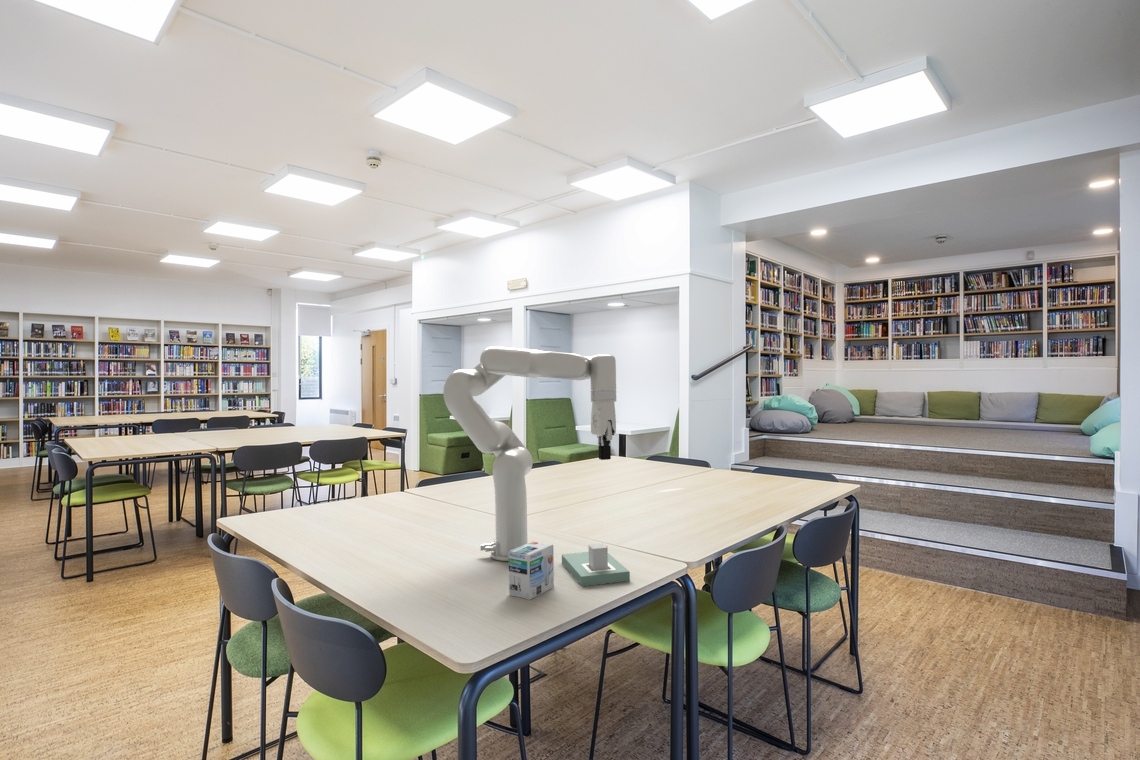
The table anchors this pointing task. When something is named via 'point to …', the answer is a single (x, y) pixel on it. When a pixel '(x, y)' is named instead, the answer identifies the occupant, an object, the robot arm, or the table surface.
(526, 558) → the light bulb box
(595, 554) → the plug
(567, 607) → the table surface
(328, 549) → the table surface
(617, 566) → the board
